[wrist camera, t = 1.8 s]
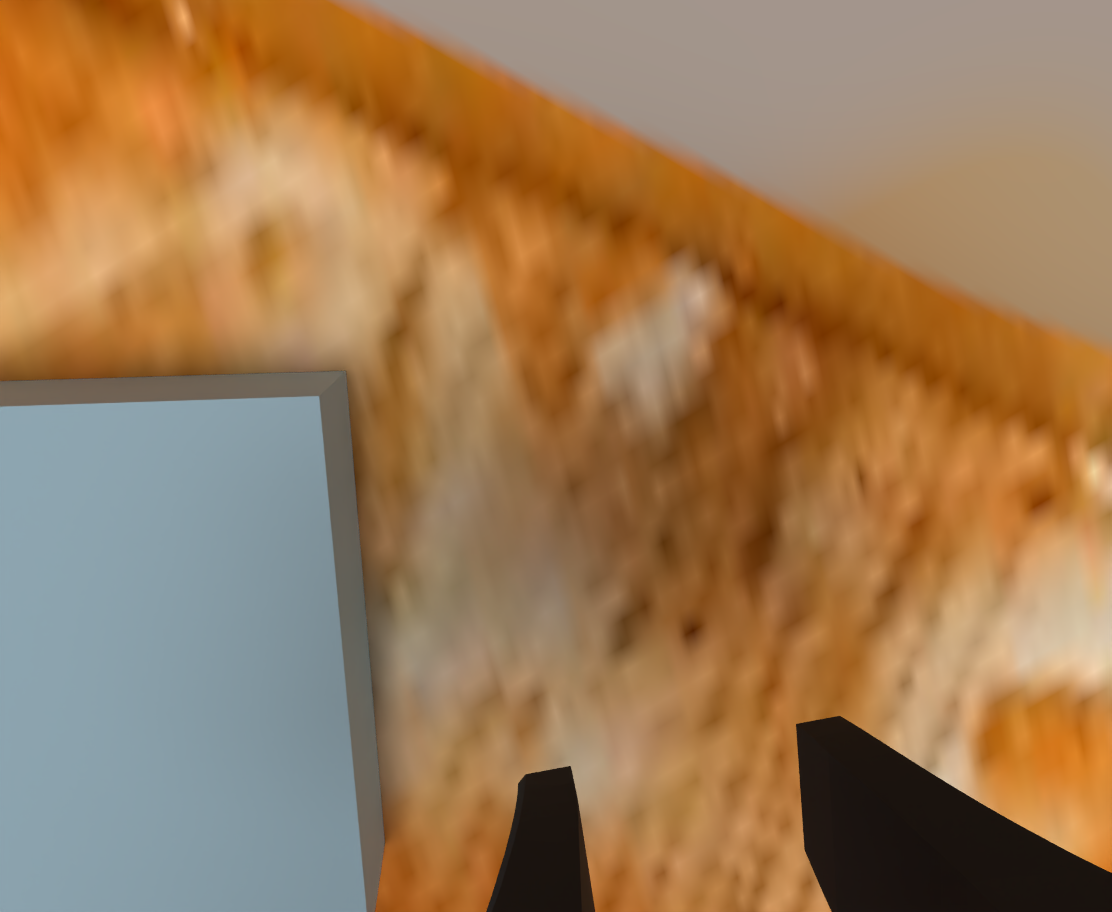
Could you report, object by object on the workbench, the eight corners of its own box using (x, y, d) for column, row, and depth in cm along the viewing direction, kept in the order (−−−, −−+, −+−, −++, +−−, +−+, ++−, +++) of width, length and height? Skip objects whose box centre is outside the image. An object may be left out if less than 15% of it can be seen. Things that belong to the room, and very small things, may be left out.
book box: (386, 831, 20) (369, 946, 17) (59, 859, 20) (-27, 986, 16) (348, 367, 17) (318, 396, 14) (-40, 379, 17) (-170, 412, 13)
